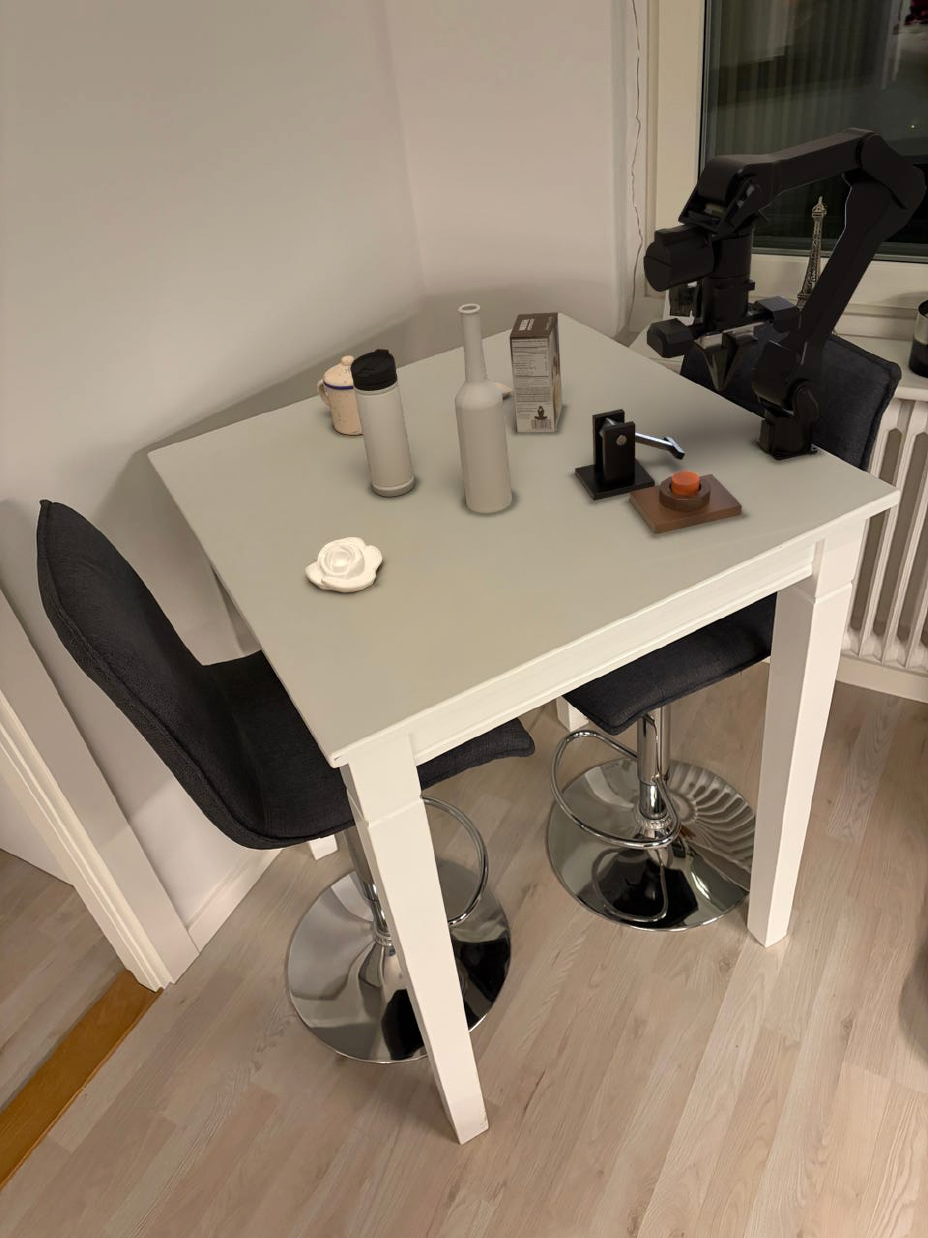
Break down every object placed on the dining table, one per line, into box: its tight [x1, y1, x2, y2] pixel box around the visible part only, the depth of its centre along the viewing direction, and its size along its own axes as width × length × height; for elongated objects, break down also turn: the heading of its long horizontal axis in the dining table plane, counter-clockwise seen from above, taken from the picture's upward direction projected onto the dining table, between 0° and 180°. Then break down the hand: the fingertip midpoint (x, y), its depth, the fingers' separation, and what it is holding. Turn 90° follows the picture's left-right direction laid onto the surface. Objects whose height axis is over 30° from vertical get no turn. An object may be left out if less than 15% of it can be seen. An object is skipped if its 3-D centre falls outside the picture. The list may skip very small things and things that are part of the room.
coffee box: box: [508, 311, 563, 433], centre depth 145 cm, size 9×6×16 cm
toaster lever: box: [599, 418, 686, 461], centre depth 129 cm, size 12×5×2 cm, turn 105°
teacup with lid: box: [316, 355, 363, 436], centre depth 153 cm, size 12×9×12 cm
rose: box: [304, 536, 383, 593], centre depth 120 cm, size 10×4×10 cm
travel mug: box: [350, 348, 416, 498], centre depth 132 cm, size 6×7×20 cm
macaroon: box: [492, 381, 514, 399], centre depth 157 cm, size 4×5×2 cm
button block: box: [629, 473, 743, 535], centre depth 124 cm, size 12×9×4 cm
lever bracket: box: [574, 408, 656, 501], centre depth 129 cm, size 9×8×10 cm
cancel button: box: [671, 470, 700, 495], centre depth 123 cm, size 4×4×2 cm
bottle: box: [454, 303, 513, 514], centre depth 123 cm, size 7×7×28 cm
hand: (719, 388), depth 123 cm, fingers closed
